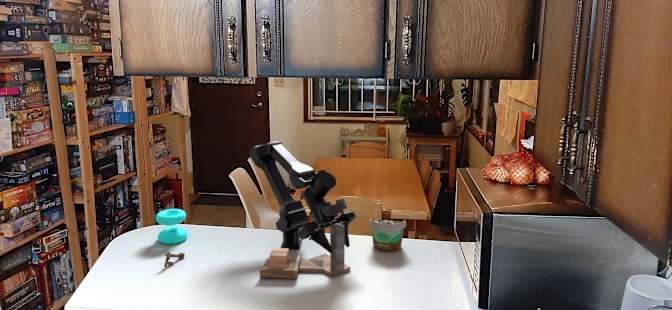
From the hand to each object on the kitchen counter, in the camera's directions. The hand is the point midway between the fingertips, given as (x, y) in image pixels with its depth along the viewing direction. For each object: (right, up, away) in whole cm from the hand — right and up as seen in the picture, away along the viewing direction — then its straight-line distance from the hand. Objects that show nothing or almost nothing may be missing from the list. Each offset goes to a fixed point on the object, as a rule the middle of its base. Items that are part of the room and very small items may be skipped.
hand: (340, 249), depth 150 cm
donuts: (-58, -2, +27) cm, 64 cm away
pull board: (-13, -7, +4) cm, 15 cm away
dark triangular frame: (-52, -6, +9) cm, 53 cm away
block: (-18, -6, +4) cm, 20 cm away
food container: (+15, -4, +18) cm, 24 cm away
